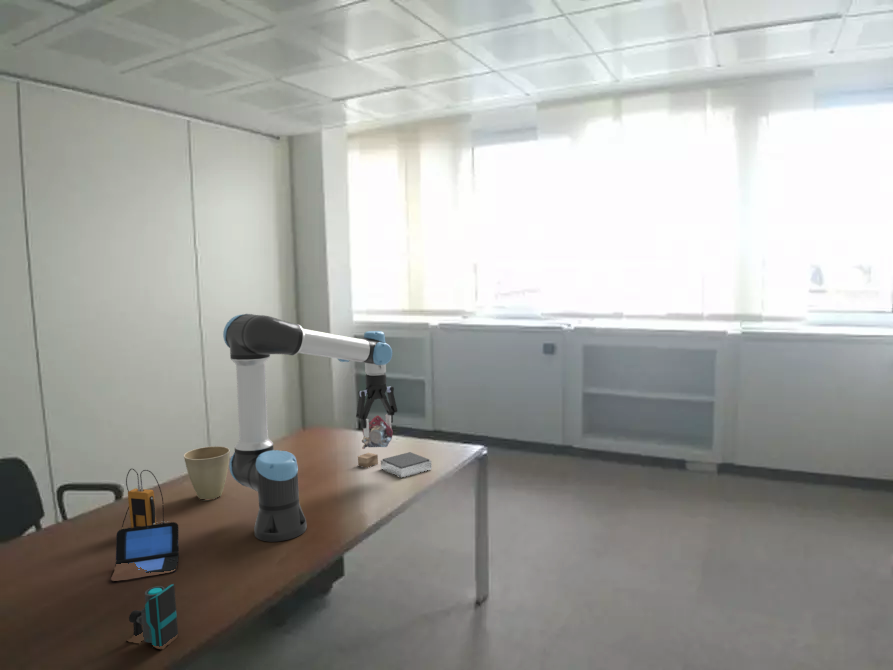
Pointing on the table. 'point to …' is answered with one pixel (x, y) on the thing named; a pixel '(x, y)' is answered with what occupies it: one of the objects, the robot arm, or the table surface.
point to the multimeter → (142, 505)
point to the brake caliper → (378, 434)
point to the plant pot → (208, 470)
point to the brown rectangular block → (367, 459)
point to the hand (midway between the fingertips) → (377, 434)
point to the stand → (406, 464)
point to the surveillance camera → (157, 616)
